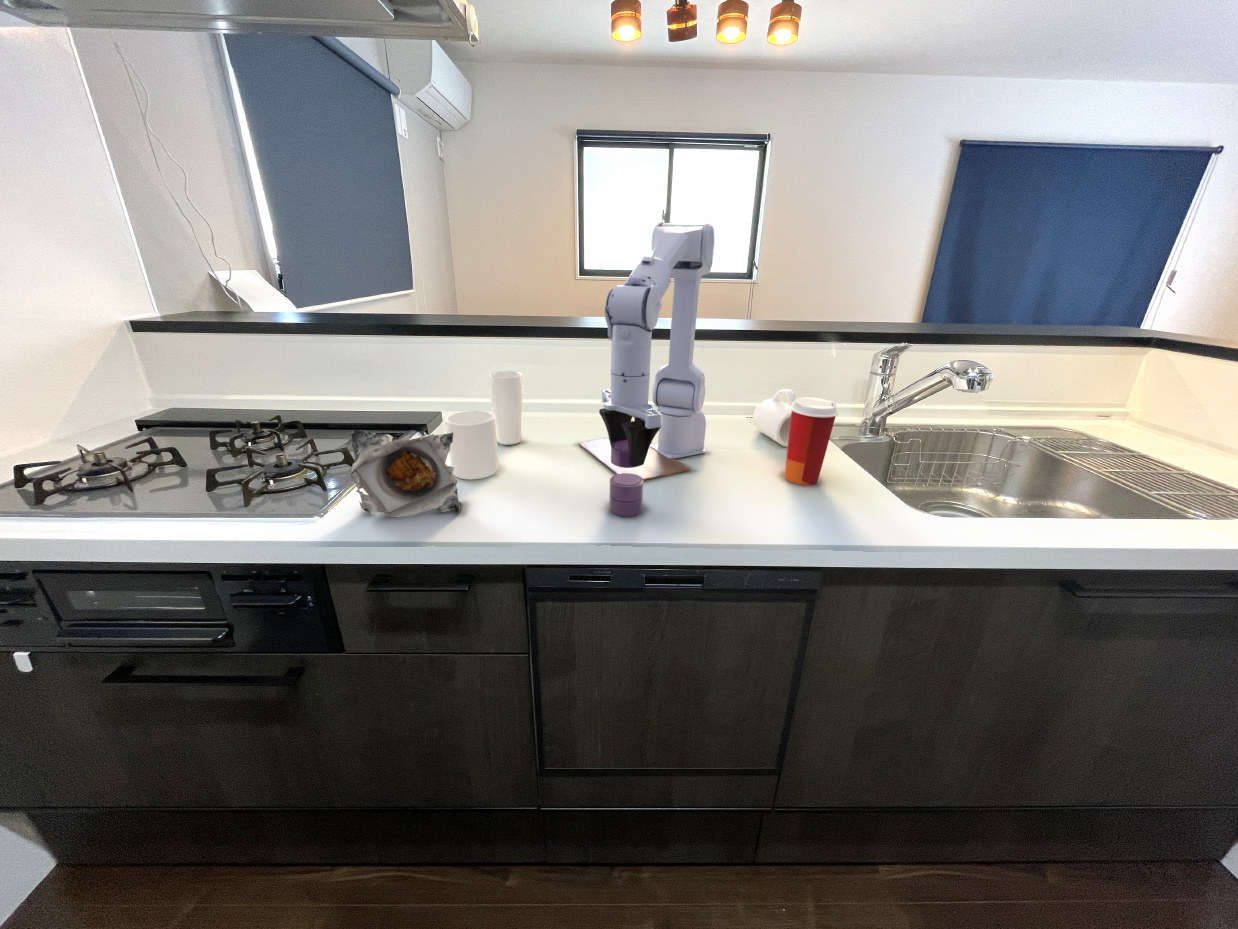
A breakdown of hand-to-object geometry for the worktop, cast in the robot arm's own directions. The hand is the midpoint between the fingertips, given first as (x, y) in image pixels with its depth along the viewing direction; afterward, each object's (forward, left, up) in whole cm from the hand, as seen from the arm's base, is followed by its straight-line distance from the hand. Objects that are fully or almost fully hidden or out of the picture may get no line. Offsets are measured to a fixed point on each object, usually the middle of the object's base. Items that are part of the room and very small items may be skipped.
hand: (627, 457), depth 78 cm
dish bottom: (0, 0, -9) cm, 9 cm away
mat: (-12, -19, -9) cm, 24 cm away
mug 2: (-48, -14, -9) cm, 51 cm away
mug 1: (+18, -27, -9) cm, 34 cm away
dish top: (0, 0, 0) cm, 0 cm away
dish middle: (0, 0, -6) cm, 6 cm away
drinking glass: (+8, -38, -9) cm, 40 cm away
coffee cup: (-36, +4, -9) cm, 37 cm away
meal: (+31, -14, -9) cm, 35 cm away
